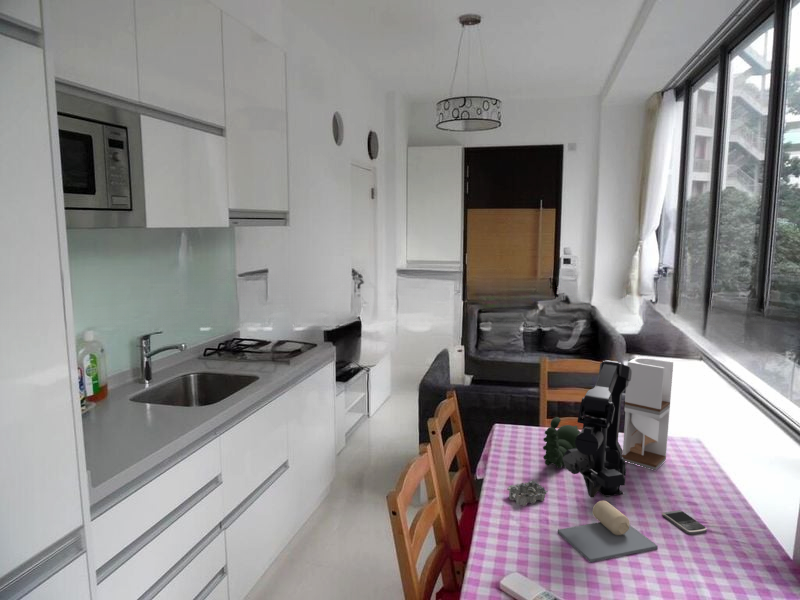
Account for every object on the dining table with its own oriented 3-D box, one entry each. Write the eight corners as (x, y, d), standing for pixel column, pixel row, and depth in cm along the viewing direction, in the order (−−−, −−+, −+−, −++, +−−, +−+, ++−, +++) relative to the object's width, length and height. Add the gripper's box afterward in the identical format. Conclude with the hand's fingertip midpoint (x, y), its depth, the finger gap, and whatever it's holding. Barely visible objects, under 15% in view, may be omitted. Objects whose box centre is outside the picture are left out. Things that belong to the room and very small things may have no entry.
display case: (620, 461, 199) (627, 361, 194) (632, 451, 207) (638, 356, 202) (655, 470, 191) (663, 368, 186) (665, 460, 199) (673, 362, 194)
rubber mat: (620, 521, 159) (620, 518, 159) (657, 548, 146) (657, 545, 146) (557, 532, 153) (557, 529, 153) (590, 562, 140) (590, 559, 140)
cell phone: (689, 537, 153) (689, 532, 152) (660, 516, 163) (660, 511, 163) (708, 533, 154) (709, 529, 154) (678, 513, 165) (679, 508, 165)
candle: (611, 501, 159) (635, 519, 149) (607, 519, 159) (630, 539, 150) (595, 499, 157) (617, 517, 148) (590, 518, 158) (612, 537, 148)
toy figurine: (562, 481, 187) (589, 450, 206) (563, 427, 183) (590, 400, 202) (535, 473, 192) (563, 444, 212) (535, 420, 188) (564, 395, 208)
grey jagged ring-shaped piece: (519, 508, 167) (519, 494, 166) (504, 496, 173) (505, 483, 173) (549, 500, 171) (550, 487, 170) (533, 490, 178) (534, 477, 177)
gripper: (548, 432, 159) (546, 485, 162) (590, 459, 142) (587, 518, 144) (583, 428, 163) (580, 480, 165) (628, 454, 145) (624, 512, 147)
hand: (591, 497), depth 155 cm, fingers closed
